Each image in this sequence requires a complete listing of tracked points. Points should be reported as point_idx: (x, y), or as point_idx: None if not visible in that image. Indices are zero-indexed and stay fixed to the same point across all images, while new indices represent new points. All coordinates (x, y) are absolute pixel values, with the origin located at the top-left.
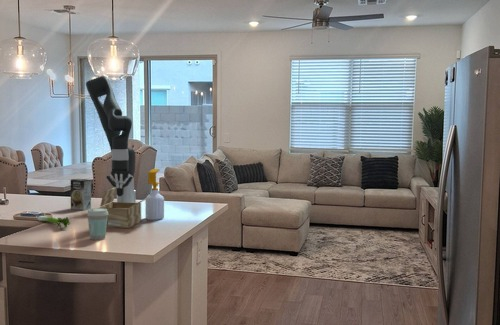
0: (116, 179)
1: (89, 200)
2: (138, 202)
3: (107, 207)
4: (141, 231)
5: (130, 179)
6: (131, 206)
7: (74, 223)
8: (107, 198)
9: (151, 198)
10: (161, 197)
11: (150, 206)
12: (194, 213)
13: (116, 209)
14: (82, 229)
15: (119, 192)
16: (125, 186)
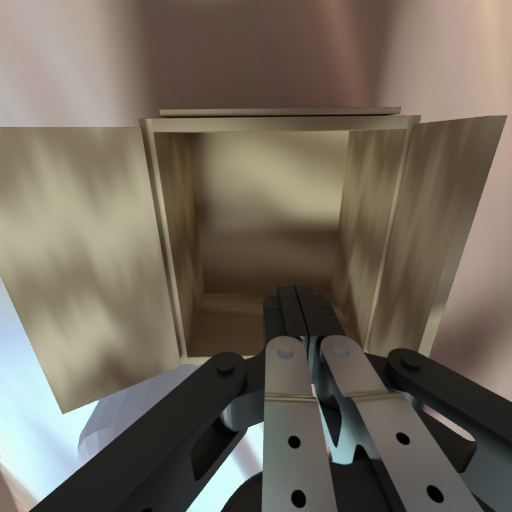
0: (422, 468)
1: None
2: (10, 127)
3: (372, 252)
4: (71, 48)
5: (54, 506)
6: (115, 127)
7: (507, 192)
8: (402, 259)
9: (127, 425)
10: (78, 453)
11: (150, 378)
12: (65, 451)
13: (258, 109)
14: (442, 35)
15: (297, 303)
16: (214, 360)
